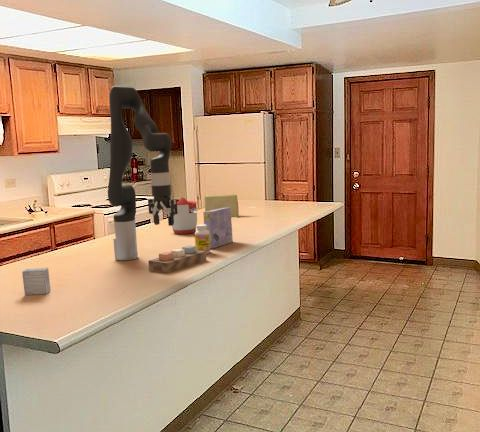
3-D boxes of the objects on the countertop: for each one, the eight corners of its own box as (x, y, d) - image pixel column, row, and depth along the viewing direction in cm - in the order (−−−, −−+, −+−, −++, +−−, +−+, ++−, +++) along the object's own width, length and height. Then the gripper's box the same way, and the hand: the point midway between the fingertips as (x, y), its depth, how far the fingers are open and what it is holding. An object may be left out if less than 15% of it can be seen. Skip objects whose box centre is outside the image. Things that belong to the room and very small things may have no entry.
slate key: (189, 257, 227) (189, 248, 227) (182, 256, 230) (182, 247, 229) (196, 255, 230) (195, 246, 230) (189, 254, 233) (188, 245, 232)
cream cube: (178, 260, 222) (177, 251, 221) (171, 260, 224) (170, 250, 223) (184, 258, 225) (184, 249, 224) (177, 258, 227) (177, 248, 227)
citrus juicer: (187, 236, 291) (185, 199, 288) (164, 233, 302) (162, 198, 299) (206, 231, 303) (204, 196, 301) (184, 229, 314) (181, 195, 311)
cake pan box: (226, 241, 273) (224, 206, 270) (234, 241, 270) (232, 206, 268) (204, 248, 257) (202, 211, 254) (213, 249, 254) (211, 212, 251)
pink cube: (166, 264, 216) (165, 254, 215) (159, 263, 218) (158, 253, 218) (173, 262, 219) (172, 252, 219) (166, 261, 222) (165, 251, 221)
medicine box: (51, 290, 195) (48, 267, 193) (47, 294, 190) (44, 270, 189) (28, 292, 194) (26, 268, 193) (24, 295, 190) (21, 271, 189)
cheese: (241, 216, 356) (240, 193, 354) (235, 218, 347) (234, 195, 345) (211, 215, 364) (210, 193, 362) (204, 218, 356) (203, 195, 353)
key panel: (166, 273, 212) (166, 263, 212) (149, 270, 218) (148, 260, 218) (206, 260, 231) (205, 251, 231) (188, 258, 237) (188, 249, 237)
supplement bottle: (197, 255, 243) (195, 226, 241) (194, 252, 249) (192, 224, 247) (211, 253, 245) (210, 225, 243) (208, 250, 251) (207, 223, 249)
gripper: (180, 183, 213) (183, 224, 215) (154, 183, 222) (157, 222, 224) (167, 185, 207) (170, 227, 209) (141, 184, 216) (144, 225, 218)
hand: (163, 224), depth 217 cm, fingers open, 7 cm apart
